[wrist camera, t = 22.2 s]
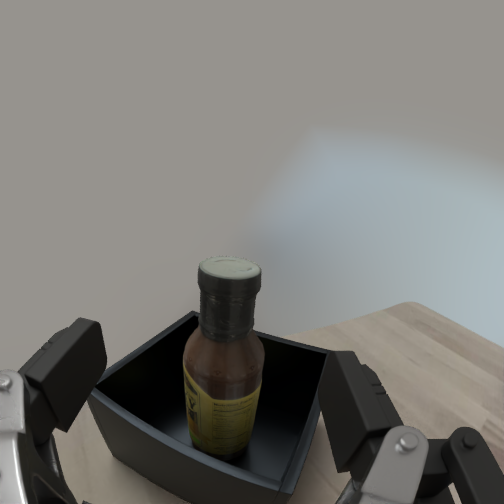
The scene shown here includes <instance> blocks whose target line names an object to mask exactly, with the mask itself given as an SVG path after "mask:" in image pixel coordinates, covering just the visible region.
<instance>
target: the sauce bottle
mask: <svg viewBox="0 0 504 504" xmlns="http://www.w3.org/2000/svg"><path fill="white" fill-rule="evenodd" d="M198 285H199V288H200V290H201V293H200V294H201V295H200V315H199V318H198V321H199V326H198V327H197V328H196V330H195V331H194V332H193V333H192V335H191V336H190V337H189V339H188V341H187V343H186V346H185V351H184V354H183V368H184V384H185V398H186V409H187V419H188V428H189V435H190V438H191V440H192V443H193V446H194V448H195V449H196V450H198V451H200V452H202V453H204V454H207V455H209V456H211V457H214V458H216V459H218V460H221V461H226V460H231V459H234V458H237V457H239V456H240V455H242V454H243V452H244V451H245V449H246V448H247V445H248V442H249V441H250V438H251V434H252V430H253V425H254V420H255V415H256V409H257V404H258V399H259V393H260V388H261V383H262V369H263V365H264V356H265V352H264V347H263V344H262V343H261V341H260V340H259V338H258V337H257V335H256V333H255V332H254V330H253V326H254V308H255V299H256V295H257V293H258V292H259V291H260V288H261V268H260V267H259V265H258V264H256V263H254V262H253V261H249V260H247V259H244V258H238V257H230V256H219V257H211V258H209V259H206V260H204V261H202V262H201V263H200V265H199V269H198Z"/></svg>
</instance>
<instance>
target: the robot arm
mask: <svg viewBox="0 0 504 504" xmlns="http://www.w3.org/2000/svg"><path fill="white" fill-rule="evenodd" d="M106 365H107V355H106V350H105V345H104V340H103V335H102V329H101V326H100V323H99V322H96V321H92V320H88V319H85V318H78V319H77V320H76V321H75V322H74V323H73V324H72V325H71V326H70V327H69V328H68V327H67V328H65V329H63V330H61V331H59V332H57V333H55V334H54V335H53V336H52V337H51V338H50V339H49V340H48V343H47V342H46V343H45V344H44V345H43V346H42V347H41V349H39V350H38V351H37V352H36V353H35V354H34V355H33V356H32V357H31V358H30V359H29V360H28V361H27V362H26V363H25V364H24V366H22V368H21V369H20V370H19V371H18V372H16V371H13V370H3V371H0V504H77V501H76V499H75V497H74V496H73V494H72V492H71V490H70V489H69V487H68V486H67V484H66V482H65V479H64V476H63V472H62V469H61V465H60V461H59V457H58V453H57V448H56V444H55V439H54V436H53V434H52V432H53V430H54V428H57V429H59V430H62V431H64V432H66V433H67V432H68V430H69V428H70V426H71V425H72V423H73V421H74V420H75V418H76V416H77V415H78V413H79V411H80V410H81V408H82V406H83V405H84V403H85V402H86V400H87V398H88V397H89V395H90V394H91V392H92V390H93V389H94V387H95V386H96V384H97V382H98V381H99V379H100V378H101V376H102V375H103V373H104V371H105V369H106ZM381 384H382V383H381V382H380V380H379V378H378V376H377V375H376V373H375V372H374V371H373V370H371V369H370V368H369V367H368V366H367V365H366V364H363V365H361V364H360V362H359V360H358V358H357V356H356V355H355V353H354V352H353V351H331V352H330V353H329V356H328V358H327V362H326V365H325V368H324V371H323V374H322V377H321V379H320V382H319V386H318V400H319V404H320V408H321V411H322V415H323V419H324V422H325V426H326V430H327V434H328V438H329V441H330V445H331V449H332V453H333V457H334V461H335V465H336V469H337V473H342V472H348V471H350V474H351V477H352V478H351V479H350V480H349V482H348V483H347V485H346V487H345V488H344V490H343V492H342V493H341V495H340V497H339V498H338V500H337V501H336V503H335V504H455V503H454V500H453V498H452V495H451V492H450V490H449V487H448V486H449V485H450V484H451V483H452V482H453V483H454V485H455V488H456V490H457V493H458V495H459V498H460V500H461V503H462V504H504V475H503V473H502V471H501V469H500V467H499V465H498V463H497V462H496V460H495V458H494V456H493V454H492V453H491V451H490V449H489V447H488V446H487V444H486V442H485V441H484V439H483V437H482V436H481V434H480V433H479V432H478V431H476V430H475V429H473V428H470V427H460V428H458V429H456V430H455V431H454V432H453V433H452V435H451V436H450V437H449V438H448V439H427V438H426V437H425V435H424V434H423V433H422V432H421V431H419V430H418V429H416V428H414V427H411V426H404V424H403V422H402V420H401V418H400V417H399V415H398V413H397V411H396V409H395V407H394V405H393V403H392V402H391V400H390V398H389V396H388V394H386V391H385V389H384V387H383V386H381ZM82 504H90V503H88V502H86V501H84V500H83V502H82Z"/></svg>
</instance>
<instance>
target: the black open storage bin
mask: <svg viewBox="0 0 504 504" xmlns="http://www.w3.org/2000/svg"><path fill="white" fill-rule="evenodd" d="M199 315H200V313H198V312H195V311H191V312H189V313H188V314H187V315H185V316H184V317H182V318H181V319H179V320H178V321H177V322H175V323H174V324H172V325H171V326H169V327H168V328H166V329H165V330H164V331H162V332H161V333H159V334H158V335H156V336H155V337H153V338H152V339H150V340H149V341H147V342H146V343H145V344H143V345H142V346H140V347H139V348H137V349H136V350H134V351H133V352H131V353H130V354H128V355H127V356H125V357H124V358H123V359H121V360H120V361H118V362H117V363H115V364H114V365H112V366H111V367H109V368H108V369H106V370H105V371H104V373H103V375H102V376H101V378H100V379H99V381H98V382H97V384H96V386H95V387H94V389H93V390H92V392H91V394H90V395H89V397H88V398H87V402H88V405H89V407H90V410H91V412H92V414H93V417H94V419H95V421H96V423H97V425H98V428H99V430H100V432H101V434H102V436H103V438H104V440H105V442H106V444H107V446H108V448H109V450H110V451H111V453H112V455H113V456H115V457H116V458H117V459H119V460H120V461H121V462H123V463H124V464H126V465H127V466H128V467H130V468H131V469H133V470H134V471H136V472H137V473H139V474H140V475H142V476H143V477H145V478H147V479H148V480H150V481H151V482H153V483H155V484H156V485H158V486H160V487H162V488H163V489H165V490H167V491H169V492H170V493H172V494H174V495H176V496H178V497H180V498H182V499H184V500H186V501H188V502H190V503H192V504H286V503H287V502H288V500H289V499H290V497H291V496H292V494H293V492H294V489H295V487H296V484H297V482H298V479H299V476H300V474H301V471H302V468H303V465H304V463H305V460H306V457H307V454H308V451H309V448H310V445H311V442H312V439H313V435H314V432H315V429H316V426H317V422H318V419H319V415H320V412H321V408H320V404H319V400H318V386H319V382H320V379H321V377H322V374H323V371H324V368H325V365H326V362H327V358H328V356H329V353H330V352H331V351H332V350H327V349H323V348H319V347H315V346H311V345H306V344H303V343H299V342H295V341H291V340H287V339H283V338H280V337H276V336H272V335H269V334H265V333H262V332H258V331H255V330H254V332H255V333H256V335H257V337H258V338H259V340H260V341H261V343H262V344H263V347H264V352H265V356H264V365H263V369H262V383H261V388H260V393H259V399H258V404H257V409H256V415H255V420H254V425H253V430H252V434H251V438H250V441H249V442H248V445H247V448H246V449H245V451H244V452H243V454H242V455H240V456H239V457H237V458H234V459H231V460H226V461H221V460H218V459H216V458H214V457H211V456H209V455H207V454H204V453H202V452H200V451H198V450H196V449H195V448H194V446H193V443H192V440H191V438H190V435H189V428H188V419H187V409H186V398H185V384H184V368H183V354H184V351H185V346H186V343H187V341H188V339H189V337H190V336H191V335H192V333H193V332H194V331H195V330H196V328H197V327H198V326H199V321H198V318H199Z"/></svg>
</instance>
